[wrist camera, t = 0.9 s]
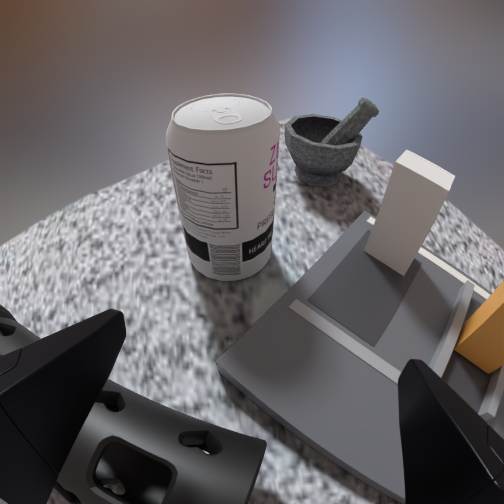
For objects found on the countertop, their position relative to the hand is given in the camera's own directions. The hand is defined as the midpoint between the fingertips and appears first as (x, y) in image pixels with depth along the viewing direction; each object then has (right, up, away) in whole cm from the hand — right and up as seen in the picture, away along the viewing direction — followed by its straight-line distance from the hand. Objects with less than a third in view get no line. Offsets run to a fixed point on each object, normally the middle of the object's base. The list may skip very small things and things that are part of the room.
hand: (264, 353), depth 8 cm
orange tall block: (+19, -6, +11) cm, 23 cm away
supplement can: (-3, +3, +22) cm, 23 cm away
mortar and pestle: (+9, +13, +32) cm, 35 cm away
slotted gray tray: (+17, -9, +12) cm, 23 cm away
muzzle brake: (-14, -11, +10) cm, 21 cm away
